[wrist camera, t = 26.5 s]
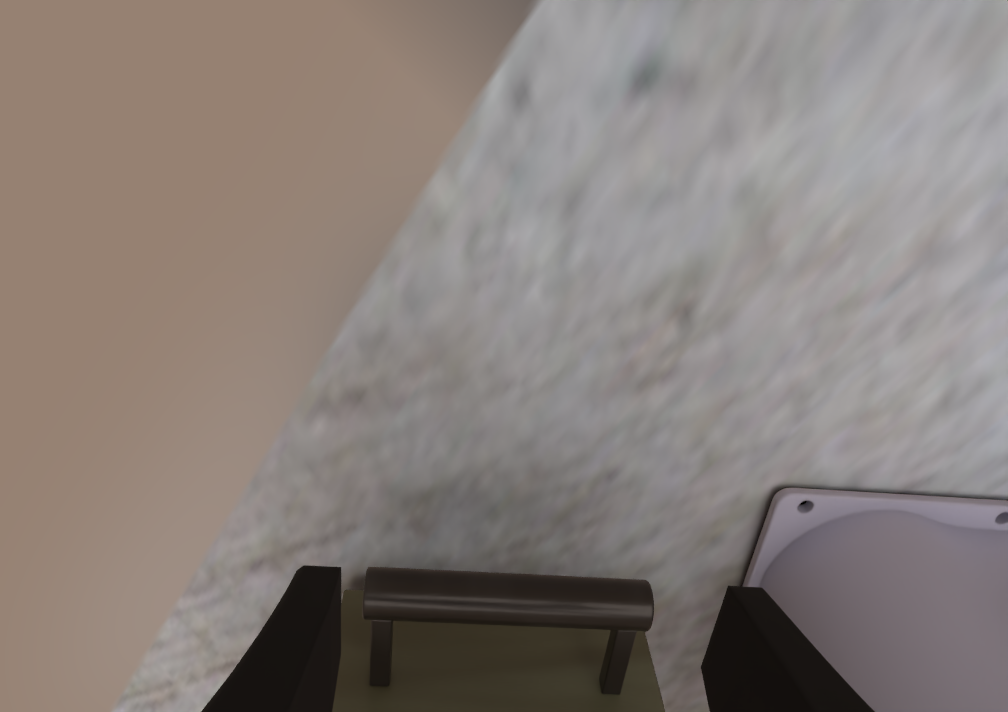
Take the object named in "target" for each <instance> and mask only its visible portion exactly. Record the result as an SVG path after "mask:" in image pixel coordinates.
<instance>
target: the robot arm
mask: <svg viewBox="0 0 1008 712" xmlns="http://www.w3.org/2000/svg"><path fill="white" fill-rule="evenodd" d="M803 501H807V503H805V504H803V505H799V504H800V503H802V502H803ZM999 514H1000V515H999ZM340 657H341V567H324V566H303V567H301V568H300V569H298V570H297V571H296V573H295V575H294V577H293V579H292V581H291V583H290V585H289V586H288V588H287V590H286V592H285V593H284V595H283V597H282V598H281V600H280V602H279V603H278V605H277V607H276V608H275V610H274V611H273V613H272V615H271V616H270V618H269V619H268V621H267V622H266V624H265V625H264V627H263V629H262V630H261V632H260V633H259V635H258V636H257V637H256V639H255V640H254V642H253V643H252V645H251V646H250V647H249V649H248V650H247V652H246V653H245V655H244V656H243V657H242V659H241V660H240V662H239V663H238V664H237V666H236V667H235V669H234V670H233V672H232V673H231V674H230V676H229V677H228V678H227V680H226V681H225V682H224V684H223V685H222V686H221V687H220V689H219V690H218V691H217V692H216V694H215V695H214V696H213V697H212V699H211V700H210V701H209V703H208V704H207V705H206V706H205V708H204V709H203V710H202V711H201V712H332V709H333V703H334V697H335V690H336V684H337V677H338V671H339V664H340ZM701 669H702V675H703V680H704V685H705V690H706V695H707V700H708V705H709V709H710V712H1008V500H991V499H974V498H957V497H941V496H924V495H907V494H891V493H874V492H857V491H841V490H824V489H807V488H785V489H782V490H780V491H779V492H777V493H776V494H775V496H774V497H773V499H772V502H771V505H770V508H769V511H768V514H767V517H766V519H765V522H764V525H763V528H762V531H761V534H760V537H759V540H758V543H757V545H756V548H755V551H754V554H753V557H752V560H751V563H750V566H749V568H748V571H747V574H746V577H745V580H744V583H743V586H742V587H741V586H728V588H727V591H726V594H725V597H724V600H723V603H722V606H721V609H720V612H719V615H718V618H717V621H716V624H715V627H714V630H713V633H712V636H711V639H710V642H709V645H708V648H707V651H706V654H705V656H704V659H703V662H702V665H701Z"/></svg>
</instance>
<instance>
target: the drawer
mask: <svg viewBox="0 0 1008 712" xmlns="http://www.w3.org/2000/svg"><path fill="white" fill-rule="evenodd" d="M653 615H654V600H653V593H652V589H651V586H650V584H649V582H648V581H646V580H637V579H616V578H595V577H575V576H554V575H533V574H512V573H492V572H471V571H450V570H430V569H409V568H388V567H368V569H367V571H366V576H365V582H364V590H345V591H344V593H343V598H342V603H341V657H340V664H339V671H338V677H337V684H336V690H335V697H334V703H333V709H332V712H665V709H664V705H663V701H662V697H661V693H660V689H659V685H658V682H657V678H656V674H655V670H654V666H653V662H652V658H651V654H650V651H649V647H648V643H647V639H646V635H645V632H646V631H648V630H649V629H650V628H651V625H652V621H653Z"/></svg>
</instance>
